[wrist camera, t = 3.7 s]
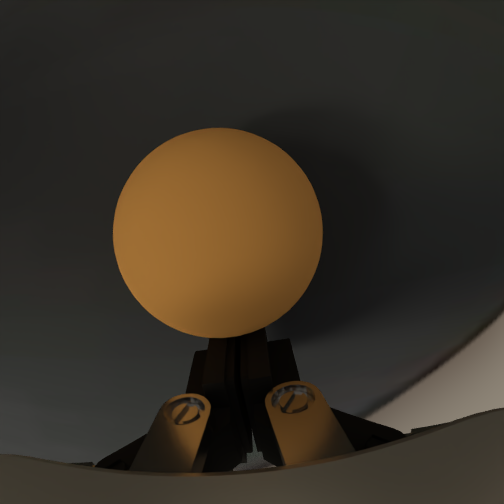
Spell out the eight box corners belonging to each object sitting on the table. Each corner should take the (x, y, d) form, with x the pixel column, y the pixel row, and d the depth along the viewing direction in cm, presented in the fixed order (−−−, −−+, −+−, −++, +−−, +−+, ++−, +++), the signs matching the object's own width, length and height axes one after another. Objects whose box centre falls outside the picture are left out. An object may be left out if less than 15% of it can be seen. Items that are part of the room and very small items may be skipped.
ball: (162, 352, 10) (81, 352, 5) (143, 206, 12) (81, 115, 7) (322, 321, 11) (385, 292, 5) (284, 178, 12) (301, 69, 7)
